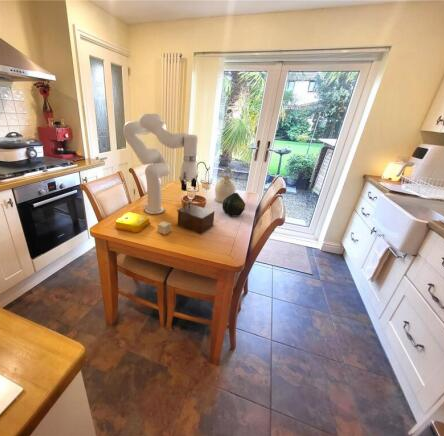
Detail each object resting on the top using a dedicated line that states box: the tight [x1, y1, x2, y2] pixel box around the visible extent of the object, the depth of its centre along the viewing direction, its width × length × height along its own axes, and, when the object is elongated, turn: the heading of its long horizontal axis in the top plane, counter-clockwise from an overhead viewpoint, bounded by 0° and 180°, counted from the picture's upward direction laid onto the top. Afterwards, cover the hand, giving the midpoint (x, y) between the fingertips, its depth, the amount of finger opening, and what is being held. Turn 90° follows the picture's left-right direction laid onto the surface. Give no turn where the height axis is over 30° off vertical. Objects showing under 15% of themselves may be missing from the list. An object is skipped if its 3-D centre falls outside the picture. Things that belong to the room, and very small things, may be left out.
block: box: [157, 221, 171, 236], centre depth 131 cm, size 5×5×5 cm
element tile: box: [115, 211, 150, 233], centre depth 137 cm, size 15×15×5 cm
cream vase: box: [214, 167, 236, 204], centre depth 177 cm, size 15×16×25 cm
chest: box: [177, 212, 215, 235], centre depth 139 cm, size 17×14×9 cm
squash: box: [221, 192, 246, 217], centre depth 157 cm, size 14×15×15 cm
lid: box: [176, 199, 215, 220], centre depth 136 cm, size 17×14×5 cm
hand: (188, 188), depth 135 cm, fingers open, 9 cm apart
